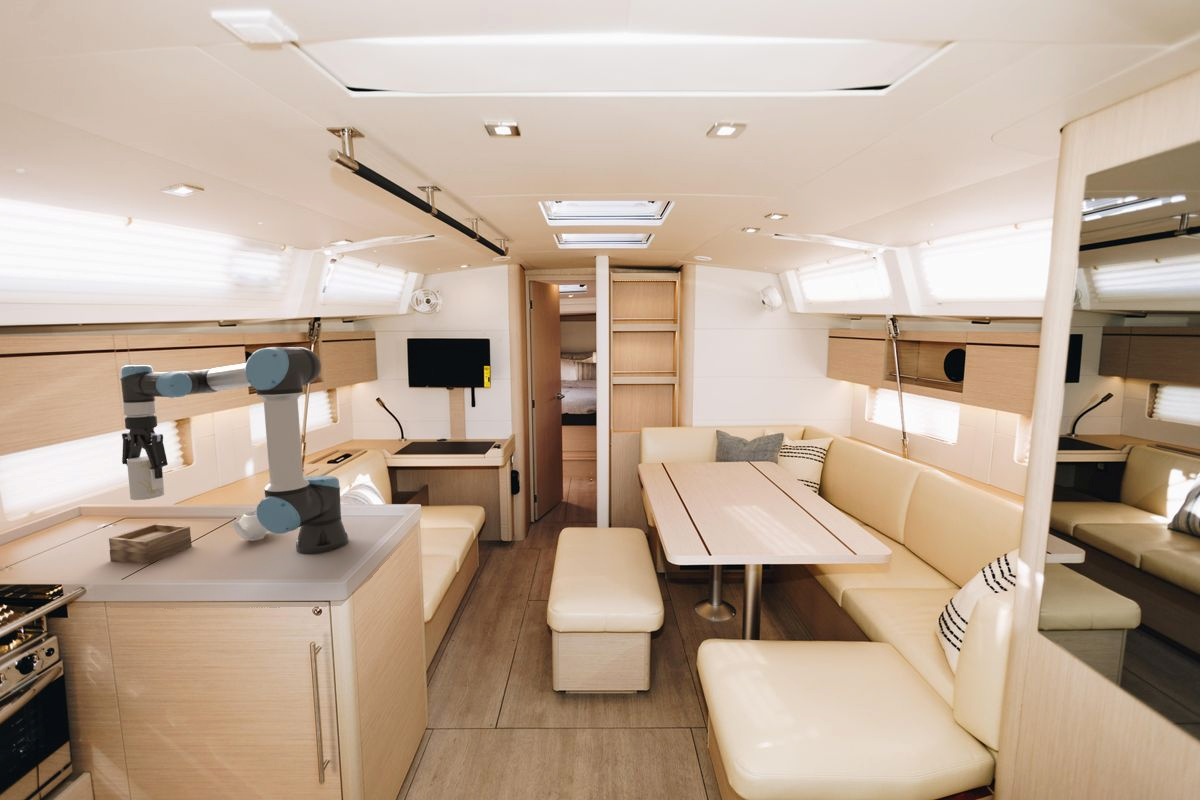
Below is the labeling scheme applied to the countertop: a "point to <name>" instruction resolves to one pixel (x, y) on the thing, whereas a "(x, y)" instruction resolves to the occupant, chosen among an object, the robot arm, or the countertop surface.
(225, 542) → the countertop surface
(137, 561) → the tower base
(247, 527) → the teapot
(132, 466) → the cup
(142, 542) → the wooden tray
